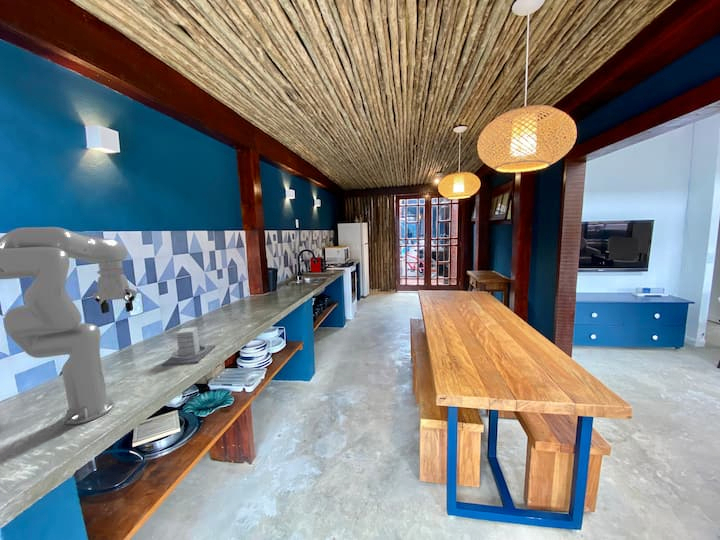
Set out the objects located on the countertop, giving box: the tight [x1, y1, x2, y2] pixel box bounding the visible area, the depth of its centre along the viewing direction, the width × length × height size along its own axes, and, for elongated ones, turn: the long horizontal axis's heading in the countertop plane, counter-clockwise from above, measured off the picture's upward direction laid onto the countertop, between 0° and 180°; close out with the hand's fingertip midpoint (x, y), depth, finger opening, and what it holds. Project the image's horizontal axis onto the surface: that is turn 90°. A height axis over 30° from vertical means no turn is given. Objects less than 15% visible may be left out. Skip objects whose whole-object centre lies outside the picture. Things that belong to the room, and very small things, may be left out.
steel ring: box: [171, 344, 208, 361], centre depth 144 cm, size 15×15×2 cm
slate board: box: [161, 344, 216, 367], centre depth 144 cm, size 20×16×1 cm
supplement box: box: [176, 326, 200, 357], centre depth 143 cm, size 7×7×13 cm
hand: (117, 311), depth 124 cm, fingers open, 9 cm apart
